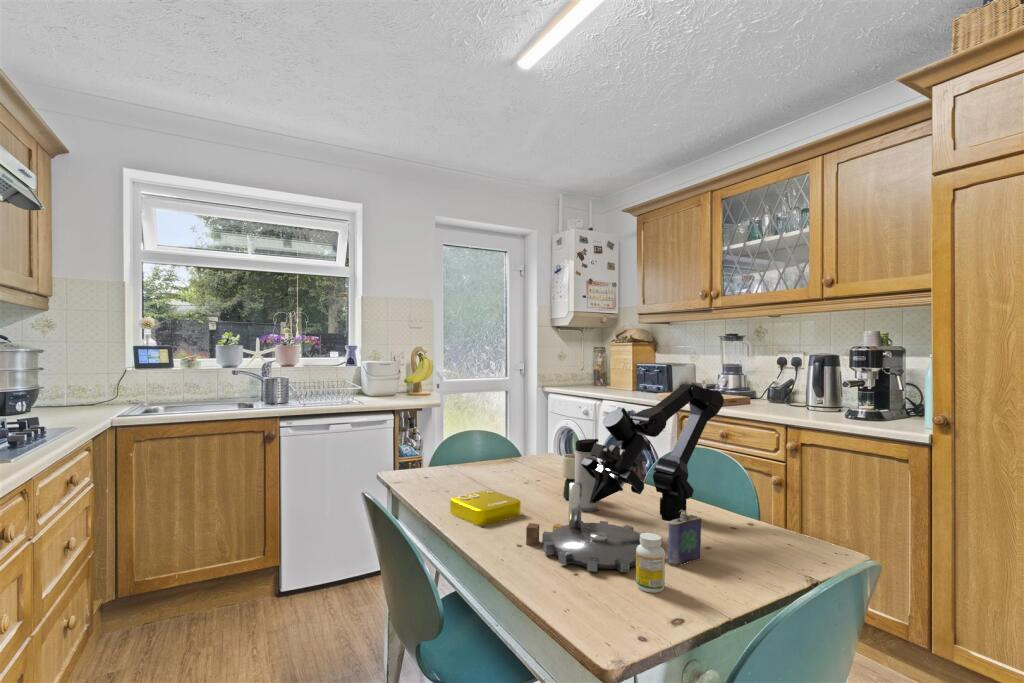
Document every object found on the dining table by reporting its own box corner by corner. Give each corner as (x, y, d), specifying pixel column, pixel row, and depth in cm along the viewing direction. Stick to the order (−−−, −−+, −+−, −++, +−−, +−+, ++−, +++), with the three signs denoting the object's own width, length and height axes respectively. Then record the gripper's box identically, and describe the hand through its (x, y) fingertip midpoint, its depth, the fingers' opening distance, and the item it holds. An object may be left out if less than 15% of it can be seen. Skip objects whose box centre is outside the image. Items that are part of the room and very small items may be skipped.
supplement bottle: (657, 596, 93) (657, 543, 93) (630, 587, 97) (631, 536, 97) (669, 586, 97) (669, 536, 97) (643, 578, 101) (643, 529, 101)
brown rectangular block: (539, 541, 120) (539, 524, 120) (536, 545, 117) (536, 528, 117) (529, 539, 120) (529, 523, 120) (526, 544, 117) (526, 527, 117)
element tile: (480, 528, 129) (480, 509, 129) (447, 513, 140) (447, 496, 140) (523, 516, 139) (523, 499, 139) (489, 503, 150) (489, 487, 150)
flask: (674, 567, 106) (674, 515, 106) (663, 562, 108) (663, 512, 109) (703, 559, 111) (704, 509, 111) (692, 554, 113) (693, 506, 113)
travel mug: (597, 513, 141) (598, 441, 142) (573, 511, 143) (574, 440, 143) (598, 506, 148) (598, 437, 148) (575, 504, 149) (576, 436, 149)
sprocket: (681, 557, 110) (682, 500, 110) (588, 582, 97) (589, 517, 97) (605, 522, 132) (606, 474, 132) (522, 539, 119) (522, 486, 119)
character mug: (594, 501, 152) (594, 458, 152) (574, 505, 149) (575, 460, 149) (572, 492, 162) (572, 451, 162) (553, 495, 158) (554, 453, 158)
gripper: (586, 426, 135) (551, 472, 130) (635, 437, 119) (598, 490, 114) (609, 454, 139) (576, 499, 133) (659, 468, 123) (624, 520, 117)
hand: (592, 501), depth 124 cm, fingers closed
